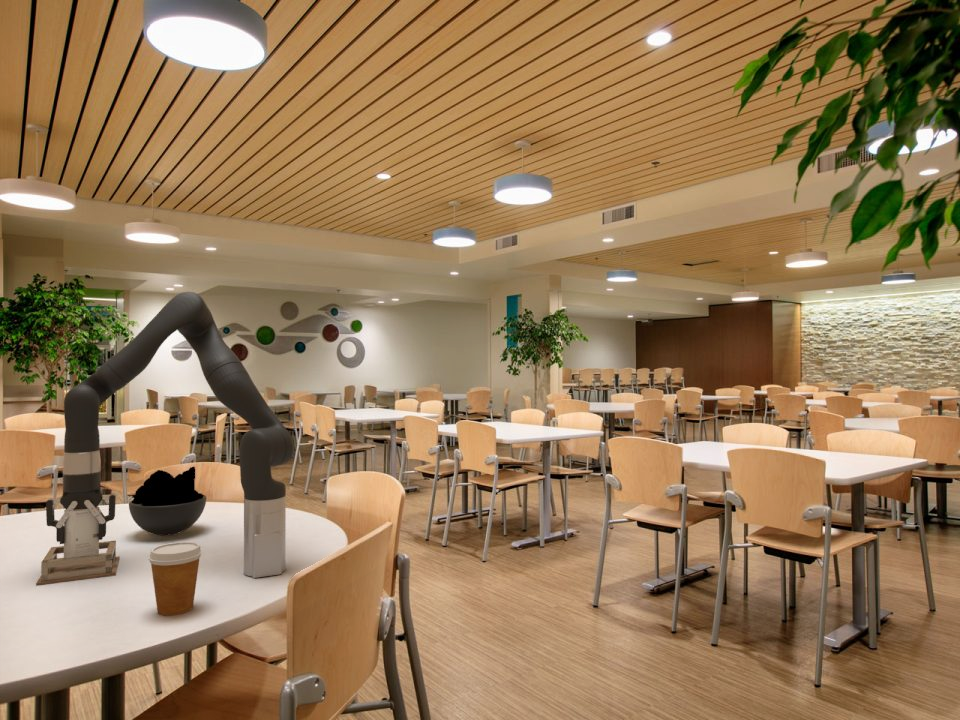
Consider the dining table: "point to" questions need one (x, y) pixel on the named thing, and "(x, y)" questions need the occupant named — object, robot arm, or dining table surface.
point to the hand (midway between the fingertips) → (81, 541)
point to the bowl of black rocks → (167, 503)
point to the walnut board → (81, 566)
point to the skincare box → (81, 534)
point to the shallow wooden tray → (53, 561)
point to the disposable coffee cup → (175, 576)
